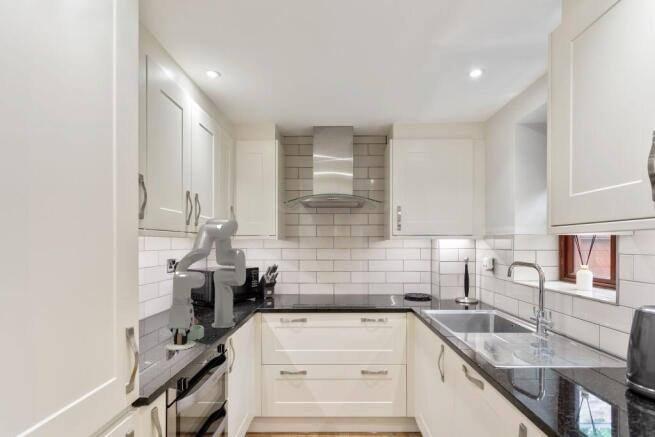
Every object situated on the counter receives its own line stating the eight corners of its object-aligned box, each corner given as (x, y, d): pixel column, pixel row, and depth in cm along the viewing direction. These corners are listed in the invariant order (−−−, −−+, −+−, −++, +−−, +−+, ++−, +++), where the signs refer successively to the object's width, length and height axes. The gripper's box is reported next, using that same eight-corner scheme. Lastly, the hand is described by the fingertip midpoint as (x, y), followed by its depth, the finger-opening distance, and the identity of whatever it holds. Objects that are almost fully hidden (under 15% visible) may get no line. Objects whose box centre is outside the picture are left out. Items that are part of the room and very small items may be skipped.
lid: (176, 341, 165) (176, 329, 165) (200, 343, 162) (200, 331, 163) (159, 349, 153) (159, 336, 153) (185, 351, 151) (185, 338, 151)
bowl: (186, 334, 178) (186, 324, 179) (207, 335, 177) (207, 325, 177) (173, 341, 167) (173, 330, 168) (195, 342, 166) (195, 331, 166)
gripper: (203, 301, 161) (202, 342, 160) (170, 299, 164) (168, 340, 163) (193, 304, 154) (192, 347, 153) (159, 302, 156) (158, 345, 155)
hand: (180, 343), depth 158 cm, fingers closed on lid, 3 cm apart
